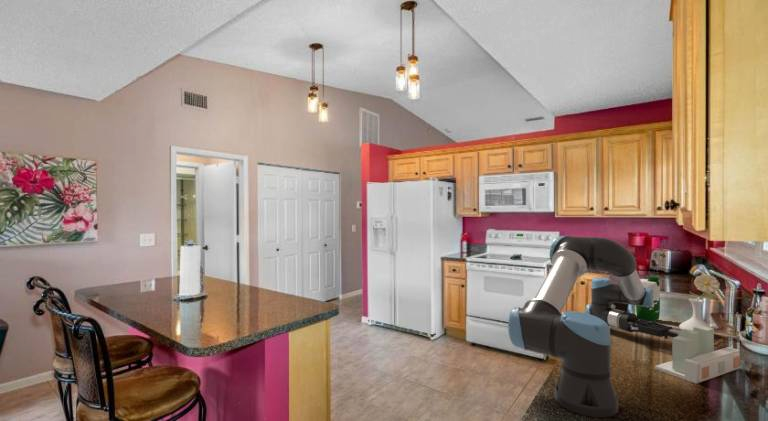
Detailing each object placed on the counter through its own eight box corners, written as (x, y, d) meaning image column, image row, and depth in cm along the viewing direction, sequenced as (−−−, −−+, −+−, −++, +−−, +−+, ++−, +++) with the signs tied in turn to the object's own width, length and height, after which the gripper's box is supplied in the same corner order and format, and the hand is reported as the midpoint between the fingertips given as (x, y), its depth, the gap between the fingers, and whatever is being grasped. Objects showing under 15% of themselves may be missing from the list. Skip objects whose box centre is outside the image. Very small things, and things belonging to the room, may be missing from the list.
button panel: (696, 383, 113) (696, 363, 113) (655, 368, 123) (655, 350, 123) (739, 368, 123) (739, 350, 123) (698, 355, 134) (698, 338, 134)
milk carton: (656, 322, 172) (656, 278, 172) (633, 318, 179) (633, 276, 179) (662, 319, 178) (662, 276, 178) (639, 314, 185) (639, 273, 185)
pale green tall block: (686, 374, 117) (686, 341, 116) (672, 369, 120) (672, 337, 120) (694, 371, 118) (694, 339, 118) (679, 366, 122) (679, 335, 122)
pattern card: (702, 382, 113) (702, 365, 113) (699, 381, 114) (699, 364, 114) (740, 368, 122) (740, 353, 122) (737, 367, 123) (737, 352, 123)
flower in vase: (675, 332, 159) (675, 272, 158) (683, 327, 166) (683, 269, 166) (716, 341, 148) (717, 277, 148) (722, 334, 156) (722, 273, 156)
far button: (707, 360, 127) (707, 330, 127) (693, 356, 130) (693, 327, 130) (713, 358, 129) (713, 328, 128) (699, 354, 132) (699, 325, 132)
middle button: (691, 365, 123) (691, 334, 123) (678, 360, 127) (678, 330, 127) (698, 362, 125) (698, 332, 125) (684, 358, 128) (685, 329, 128)
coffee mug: (632, 320, 175) (632, 299, 175) (612, 319, 177) (612, 298, 177) (622, 314, 186) (622, 293, 186) (603, 313, 188) (603, 292, 188)
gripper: (633, 327, 158) (700, 346, 136) (613, 332, 152) (679, 352, 131) (633, 309, 157) (700, 325, 136) (613, 313, 152) (679, 330, 131)
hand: (690, 338), depth 133 cm, fingers closed
